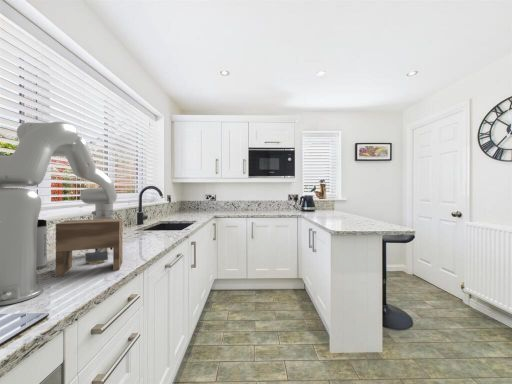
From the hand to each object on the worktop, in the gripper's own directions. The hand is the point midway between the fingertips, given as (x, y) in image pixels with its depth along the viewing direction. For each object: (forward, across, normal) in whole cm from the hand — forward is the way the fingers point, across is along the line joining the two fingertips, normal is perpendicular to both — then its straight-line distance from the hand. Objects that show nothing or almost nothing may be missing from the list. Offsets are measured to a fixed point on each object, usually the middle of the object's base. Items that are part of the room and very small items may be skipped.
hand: (104, 249), depth 122 cm
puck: (+3, 0, -16) cm, 16 cm away
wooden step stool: (+2, 0, -27) cm, 27 cm away
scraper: (+1, 0, -8) cm, 8 cm away
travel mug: (+2, -21, -17) cm, 27 cm away
